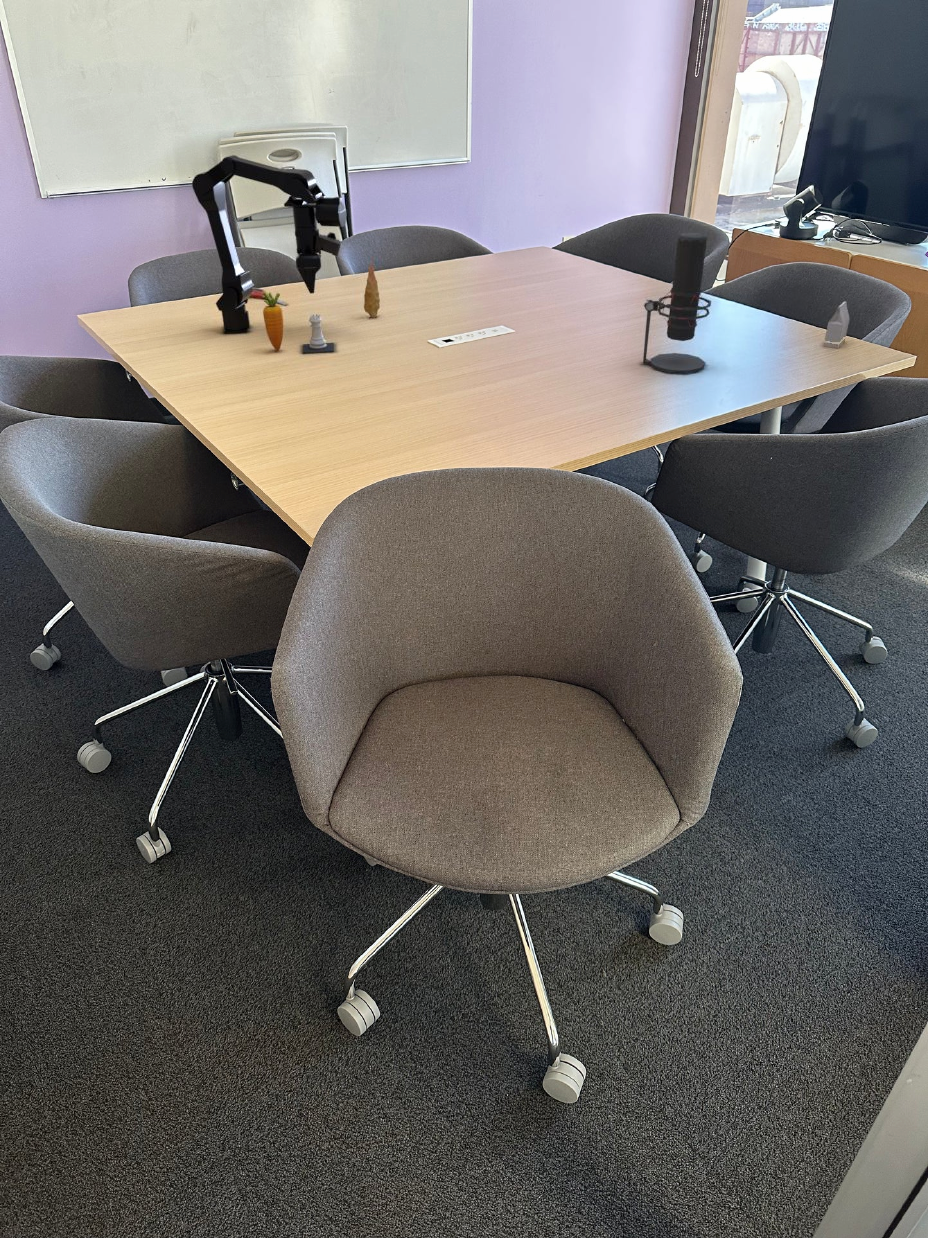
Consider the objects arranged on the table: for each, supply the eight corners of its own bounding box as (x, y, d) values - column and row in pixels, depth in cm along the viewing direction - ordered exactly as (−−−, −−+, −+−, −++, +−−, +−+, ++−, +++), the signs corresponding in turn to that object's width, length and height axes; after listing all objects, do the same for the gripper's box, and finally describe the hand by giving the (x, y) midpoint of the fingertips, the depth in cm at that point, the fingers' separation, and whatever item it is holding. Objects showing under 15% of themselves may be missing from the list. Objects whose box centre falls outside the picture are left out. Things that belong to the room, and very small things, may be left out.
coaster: (302, 353, 231) (302, 352, 231) (303, 345, 237) (303, 344, 237) (334, 352, 232) (333, 350, 232) (333, 344, 238) (333, 342, 238)
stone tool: (369, 320, 256) (366, 264, 248) (364, 318, 257) (360, 263, 249) (382, 316, 259) (378, 261, 251) (376, 314, 261) (372, 260, 252)
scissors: (285, 305, 270) (284, 300, 269) (234, 296, 279) (233, 291, 279) (302, 299, 275) (301, 294, 275) (251, 291, 285) (251, 286, 284)
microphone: (668, 378, 213) (684, 243, 196) (634, 362, 222) (646, 232, 206) (716, 368, 218) (735, 236, 201) (680, 353, 228) (696, 226, 211)
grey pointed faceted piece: (844, 341, 235) (853, 302, 229) (838, 348, 230) (846, 308, 224) (830, 339, 236) (838, 300, 231) (823, 346, 232) (831, 306, 226)
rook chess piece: (330, 345, 235) (327, 314, 231) (320, 350, 232) (317, 319, 227) (315, 343, 237) (312, 312, 232) (306, 348, 233) (302, 317, 229)
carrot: (290, 348, 235) (283, 289, 226) (281, 354, 231) (274, 294, 222) (273, 347, 236) (266, 287, 228) (264, 352, 232) (256, 292, 224)
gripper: (338, 231, 223) (343, 296, 232) (336, 217, 238) (342, 279, 247) (292, 233, 222) (299, 298, 230) (294, 219, 237) (301, 280, 246)
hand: (312, 288), depth 238 cm, fingers open, 9 cm apart
